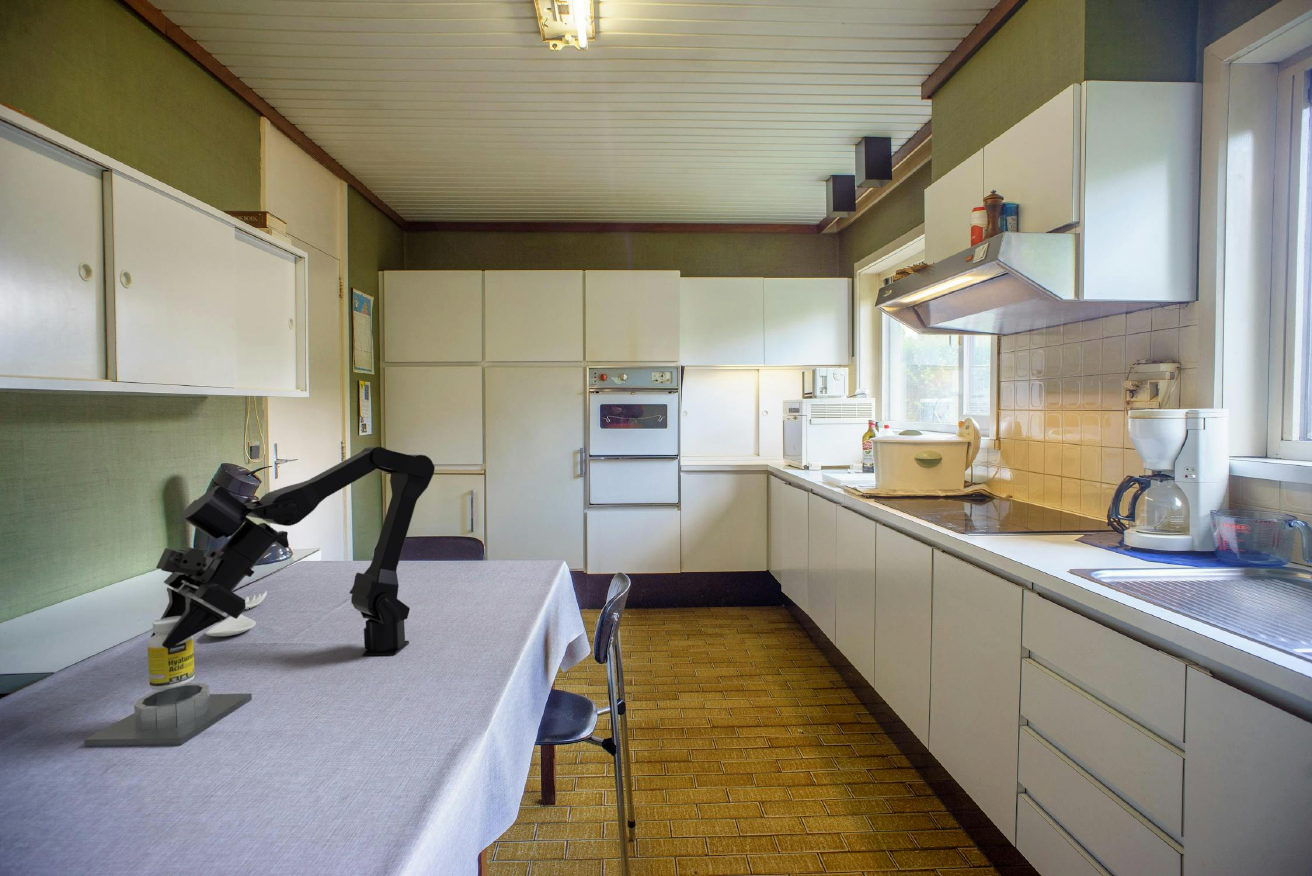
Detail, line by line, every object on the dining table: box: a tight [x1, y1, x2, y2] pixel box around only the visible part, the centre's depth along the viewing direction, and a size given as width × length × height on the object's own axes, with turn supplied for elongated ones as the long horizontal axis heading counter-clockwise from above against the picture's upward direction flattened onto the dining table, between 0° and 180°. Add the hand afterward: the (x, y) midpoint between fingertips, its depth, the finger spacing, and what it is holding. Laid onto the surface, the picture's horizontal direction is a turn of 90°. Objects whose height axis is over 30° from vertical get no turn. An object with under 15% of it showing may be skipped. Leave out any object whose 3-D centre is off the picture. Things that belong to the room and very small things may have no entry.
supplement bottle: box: [147, 616, 196, 691], centre depth 92 cm, size 5×5×10 cm
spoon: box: [204, 590, 268, 638], centre depth 141 cm, size 9×32×4 cm, turn 28°
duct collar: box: [83, 682, 253, 748], centre depth 91 cm, size 14×14×4 cm
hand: (159, 643), depth 91 cm, fingers closed on supplement bottle, 5 cm apart
